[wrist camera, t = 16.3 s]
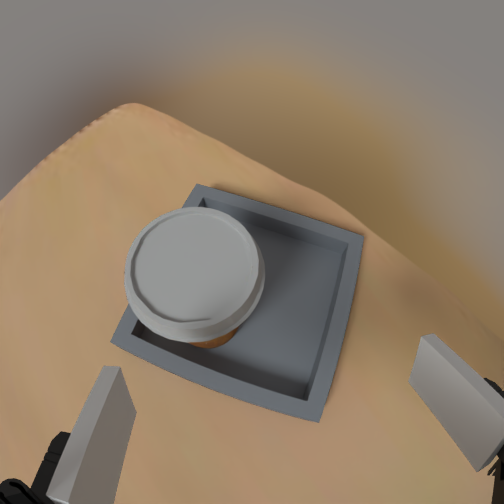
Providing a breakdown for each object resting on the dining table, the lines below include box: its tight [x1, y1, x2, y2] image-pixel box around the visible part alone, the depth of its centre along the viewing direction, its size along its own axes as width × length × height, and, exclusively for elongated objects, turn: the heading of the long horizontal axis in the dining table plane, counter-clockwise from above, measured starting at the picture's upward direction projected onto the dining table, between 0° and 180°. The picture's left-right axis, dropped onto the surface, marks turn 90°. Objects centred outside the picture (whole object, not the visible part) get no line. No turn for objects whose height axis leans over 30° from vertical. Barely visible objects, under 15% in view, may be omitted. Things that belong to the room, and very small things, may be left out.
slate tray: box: [110, 184, 364, 423], centre depth 29 cm, size 20×20×3 cm
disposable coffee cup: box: [124, 207, 265, 349], centre depth 23 cm, size 10×10×12 cm
